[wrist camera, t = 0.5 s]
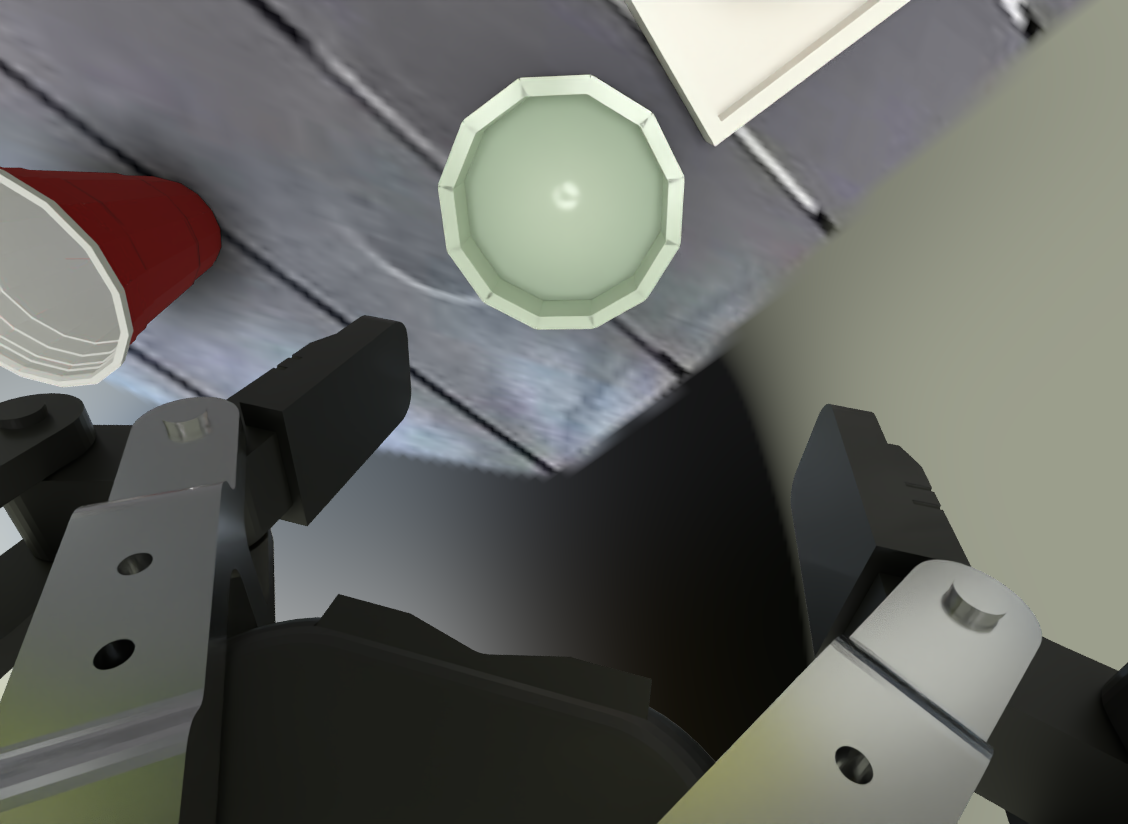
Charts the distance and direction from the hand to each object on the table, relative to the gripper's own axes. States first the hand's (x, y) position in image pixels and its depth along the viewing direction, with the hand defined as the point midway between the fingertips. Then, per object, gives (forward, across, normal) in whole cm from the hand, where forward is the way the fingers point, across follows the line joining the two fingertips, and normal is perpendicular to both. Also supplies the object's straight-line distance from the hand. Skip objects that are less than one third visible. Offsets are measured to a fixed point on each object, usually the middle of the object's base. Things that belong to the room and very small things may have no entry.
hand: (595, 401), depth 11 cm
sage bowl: (+25, +6, +2) cm, 26 cm away
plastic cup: (+20, +30, +6) cm, 37 cm away
